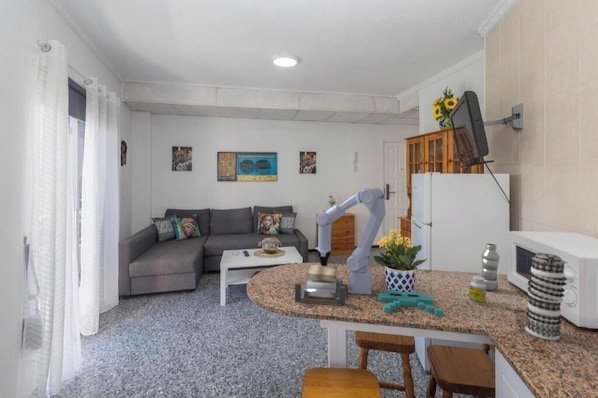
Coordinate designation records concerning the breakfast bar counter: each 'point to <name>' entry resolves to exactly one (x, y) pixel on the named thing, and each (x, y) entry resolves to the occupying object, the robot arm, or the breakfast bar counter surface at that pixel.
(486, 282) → the plastic bottle
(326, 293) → the loose roller
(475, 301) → the supplement bottle
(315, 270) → the slab
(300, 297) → the roller bed
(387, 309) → the alien figure
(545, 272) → the decorative candle
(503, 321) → the breakfast bar counter surface
